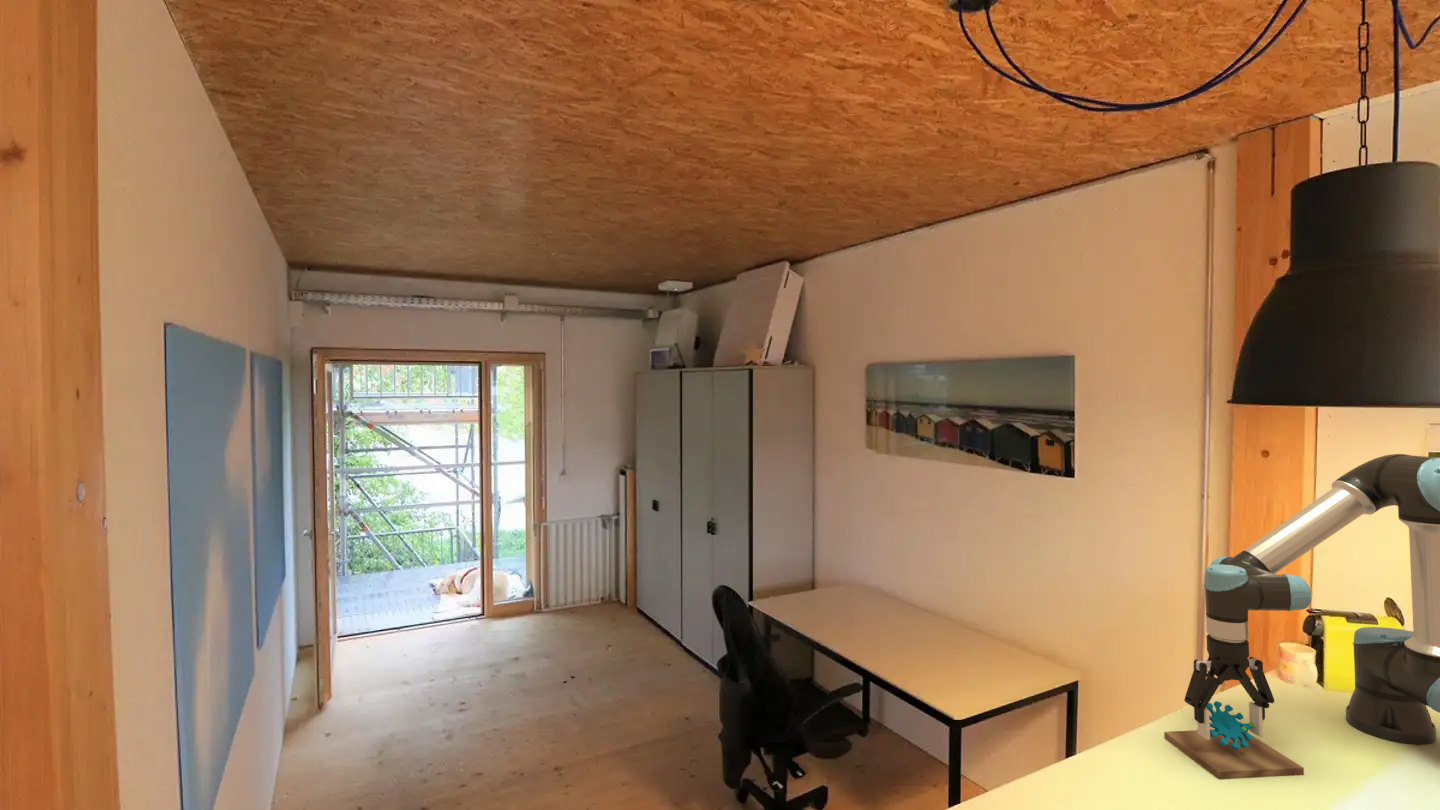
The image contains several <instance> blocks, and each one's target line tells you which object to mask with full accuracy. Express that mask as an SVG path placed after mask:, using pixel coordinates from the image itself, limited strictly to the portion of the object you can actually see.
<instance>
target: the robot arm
mask: <svg viewBox="0 0 1440 810" xmlns="http://www.w3.org/2000/svg"><path fill="white" fill-rule="evenodd" d="M1393 506H1395V507H1396V506H1397V511H1398V514H1397V515H1398V520H1399V521H1400V522H1402V523H1403V524H1405V526H1407V527H1408V537H1409V538H1408V539H1409V542H1408V543H1409V561H1410V583H1411V605H1412V606H1411V607H1412V629H1413V630H1412V631H1411V630H1407V629H1402V628H1393V627H1383V626H1382V627H1381V626H1380V627H1379V626H1365V627H1360V628H1357V629H1355V631H1354V634H1353V635H1354V636H1353V642H1352V646H1353V662H1354V663H1353V664H1354V690H1353V692H1352V695H1351V697H1350V700H1349V704H1348V705H1347V706H1346V707H1345V708H1346V709H1345V719H1346V721H1347V723H1348V724H1349V725H1351V726H1352V727H1354V728H1356V729H1357V730H1359V731H1361V732H1364V733H1367V734H1369V735H1372V736H1374V737H1378V738H1381V739H1385V740H1389V741H1393V742H1399V743H1404V744H1405V743H1406V744H1414V745H1415V744H1416V745H1425V744H1426V745H1427V744H1431V742H1432V743H1433V742H1435V741H1436V740H1437V728H1436V725H1435V724H1434V723H1433V722H1432V721H1433V720H1432V717H1431V715H1430V712H1429V709H1428V707H1429V708H1430V709H1432V710H1433V711H1435V712H1437V713H1440V457H1435V456H1423V455H1422V456H1421V455H1412V454H1404V453H1393V454H1387V455H1386V454H1385V455H1383V456H1379V457H1375V458H1373V459H1371V460H1370V459H1369V461H1366V462H1364V463H1362V464H1360V465H1358V466H1356V467H1354V468H1352V469H1350V470H1349V471H1347V472H1346V473H1344V474H1342V475H1341V476H1340V477H1338V478H1337V479H1336V480H1334V481H1333V482H1332V483H1331V489H1330V490H1328V491H1327V492H1326V493H1324V494H1323V495H1321V496H1320V497H1318V498H1317V499H1315V500H1314V501H1312V502H1311V503H1309V505H1307V506H1306V507H1304V508H1303V509H1301V510H1299V511H1298V512H1297V513H1295V514H1294V515H1292V516H1291V517H1289V518H1288V519H1287V520H1285V521H1284V522H1282V523H1281V524H1280V525H1278V526H1277V527H1275V528H1273V529H1272V530H1270V531H1269V532H1267V533H1266V534H1265V535H1264V536H1262V537H1261V538H1260V539H1258V540H1256V541H1255V542H1254V543H1252V544H1251V545H1249V546H1248V547H1246V548H1245V549H1243V550H1242V551H1241V552H1239V553H1237V554H1236V555H1234V556H1220V557H1216V558H1215V559H1214V560H1213V561H1212V562H1211V563H1210V565H1209V566H1207V567H1206V568H1205V572H1204V573H1205V574H1204V584H1203V588H1204V596H1205V597H1204V599H1205V621H1206V625H1205V627H1206V628H1205V630H1206V633H1207V635H1206V651H1207V653H1208V658H1207V660H1198V658H1197V659H1194V660H1193V672H1192V674H1191V677H1190V681H1189V684H1188V687H1187V690H1186V693H1185V697H1184V699H1183V700H1184V702H1185V703H1186V704H1188V705H1189V706H1191V707H1192V708H1193V711H1194V712H1193V715H1194V716H1193V717H1194V720H1195V721H1196V722H1197V730H1198V734H1199V735H1200V736H1202V737H1203V738H1205V739H1206V740H1210V728H1211V727H1210V723H1211V721H1210V720H1209V715H1210V711H1209V710H1208V709H1207V708H1206V706H1207V705H1208V703H1210V701H1211V700H1212V698H1213V696H1214V695H1215V693H1216V692H1217V689H1218V688H1219V686H1220V685H1223V684H1224V682H1227V681H1238V682H1239V683H1240V686H1242V688H1243V689H1244V691H1246V693H1247V695H1248V696H1249V697H1250V699H1251V700H1252V701H1249V702H1248V711H1249V715H1248V716H1249V717H1248V718H1249V722H1252V723H1253V724H1254V727H1253V728H1251V729H1250V730H1249V732H1250V733H1252V734H1254V735H1256V736H1257V737H1259V738H1264V734H1263V733H1264V730H1263V729H1264V728H1263V727H1264V725H1263V721H1265V719H1266V709H1268V708H1269V707H1270V704H1274V703H1275V698H1274V695H1273V692H1272V690H1271V687H1270V685H1269V683H1268V681H1267V678H1266V675H1265V672H1264V663H1263V661H1262V660H1260V659H1259V658H1256V657H1253V656H1250V643H1249V641H1248V639H1249V638H1250V632H1249V631H1250V630H1249V611H1278V612H1279V611H1282V612H1283V611H1285V612H1286V611H1287V612H1291V611H1301V610H1302V611H1303V610H1305V609H1307V608H1308V607H1309V606H1310V605H1311V602H1312V590H1311V588H1310V585H1309V584H1308V582H1307V581H1306V579H1304V578H1303V577H1301V575H1300V576H1299V575H1297V574H1287V573H1282V574H1277V573H1279V572H1280V571H1281V570H1283V569H1285V568H1286V567H1288V566H1289V565H1290V564H1291V563H1294V562H1295V561H1296V560H1298V559H1299V558H1301V557H1302V556H1303V555H1305V554H1306V553H1308V552H1310V551H1311V550H1312V549H1314V548H1316V547H1317V546H1318V545H1320V544H1321V543H1322V542H1324V541H1326V540H1327V539H1329V538H1330V537H1332V536H1333V535H1335V534H1336V533H1337V532H1338V531H1341V530H1342V529H1343V528H1345V527H1347V526H1348V525H1349V524H1350V523H1352V522H1354V521H1355V520H1357V519H1358V518H1360V517H1361V516H1362V515H1368V516H1369V515H1373V514H1375V513H1376V512H1378V511H1380V510H1381V509H1384V508H1386V507H1393ZM1248 668H1249V671H1250V673H1251V676H1252V678H1253V681H1254V683H1255V685H1254V684H1253V681H1252V679H1251V677H1250V676H1249V675H1248V673H1247V672H1246V671H1247V670H1248ZM1215 676H1216V677H1215ZM1269 703H1270V704H1269Z"/></svg>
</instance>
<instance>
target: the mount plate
mask: <svg viewBox="0 0 1440 810" xmlns="http://www.w3.org/2000/svg"><path fill="white" fill-rule="evenodd" d="M1211 730H1214V728H1211V729H1210V731H1211ZM1247 733H1249V731H1248V732H1247ZM1252 736H1253V737H1252V739H1251V740H1249V741H1247V740H1246V739H1245V737H1244V735H1243V734H1242V737H1243V738H1244V740H1245V741H1246V742H1248V744H1249V746H1247V747H1242V746H1241V745H1240V740H1239V739H1238V738H1237V742H1238V744H1239V746H1240V748H1239V749H1237V750H1236V749H1233V748H1232V747H1231V744H1232V743H1233V741H1232V739H1228V745H1226V746H1223V745H1222V744H1221V743H1220V742H1219V741H1220V740H1221V739H1225V738H1224V736H1222V735H1217V736H1215V737H1211V735H1210V740H1206V739H1205V738H1203V737H1202V736H1200V735H1199V734H1198V729H1193V730H1192V729H1191V730H1173V731H1164V739H1165V740H1167V741H1168V742H1169V743H1171V745H1173V746H1174V747H1176V748H1177V749H1179V750H1180V751H1181V752H1182V753H1183V754H1185V755H1187V757H1189V758H1190V759H1192V760H1193V761H1195V763H1197V764H1198V765H1199V766H1201V767H1202V768H1203V769H1205V770H1206V771H1208V772H1209V774H1212V776H1214V777H1215V778H1217V779H1218V780H1229V779H1247V778H1248V779H1249V778H1267V777H1290V776H1304V775H1305V769H1304V768H1305V767H1303V766H1302V765H1301V764H1299V763H1297V762H1296V761H1294V760H1292V759H1290V758H1289V757H1288V756H1286V755H1284V754H1283V753H1281V752H1279V751H1278V750H1276V749H1275V748H1274V747H1271V745H1268V744H1267V743H1265V742H1263V741H1262V740H1260V739H1259V738H1257V737H1256V736H1254V735H1252Z"/></svg>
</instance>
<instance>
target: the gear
mask: <svg viewBox="0 0 1440 810" xmlns="http://www.w3.org/2000/svg"><path fill="white" fill-rule="evenodd" d="M1222 706H1223V705H1222V702H1220V701H1218V700H1215V701H1213V704H1212V703H1211V702H1209V703H1208V705H1207V706H1206V709H1208V710H1209V720H1210V728H1211V729H1214V730H1211V731H1210V735H1211V737H1215V736H1217V735H1222V736H1224V738H1225V739H1221V740H1220V741H1219V742H1220V743H1221V744H1222V745H1223V746H1226V745H1228V739H1232V741H1233V743H1232V744H1231V747H1232V748H1233V749H1236V750H1237V749H1239V748H1240V746H1239V744H1238V742H1237V738H1238V739H1239V740H1240V745H1241V746H1242V747H1247V746H1249V744H1248V742H1246V741H1245V740H1244V738H1243V737H1242V734H1243V735H1244V737H1245V739H1246V740H1247V741H1249V740H1251V739H1252V737H1253V736H1254V735H1252V734H1250V733H1249V731H1250V729H1251V728H1253V727H1254V724H1253V723H1252V722H1250V721H1249V722H1248V723H1247V722H1246V723H1245V722H1244V723H1243V722H1240V721H1241V720H1244V716H1243V714H1242V713H1241V712H1237V713H1236V714H1230V712H1232V711H1234V707H1232V706H1231V705H1230V704H1226V705H1224V710H1221V707H1222ZM1213 708H1215V710H1214V709H1213ZM1247 732H1248V733H1247Z"/></svg>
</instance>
